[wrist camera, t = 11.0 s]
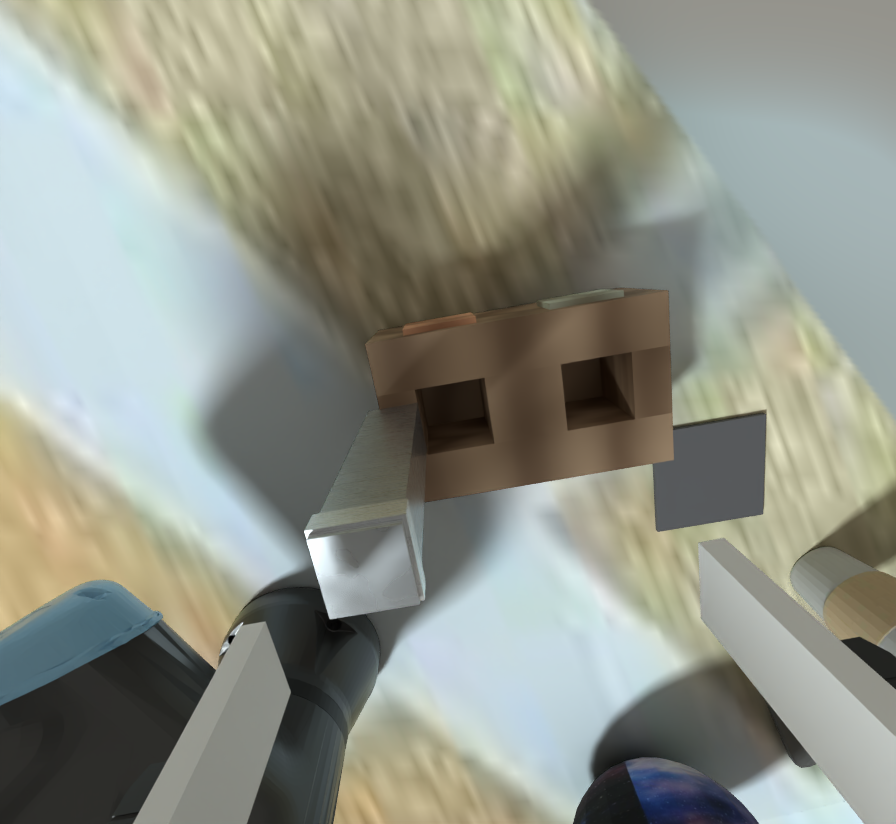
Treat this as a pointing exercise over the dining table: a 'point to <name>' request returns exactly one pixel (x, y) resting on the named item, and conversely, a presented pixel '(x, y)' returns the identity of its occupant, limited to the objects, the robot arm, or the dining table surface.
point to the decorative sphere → (658, 796)
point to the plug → (374, 519)
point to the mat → (712, 473)
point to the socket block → (534, 389)
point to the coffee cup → (848, 596)
